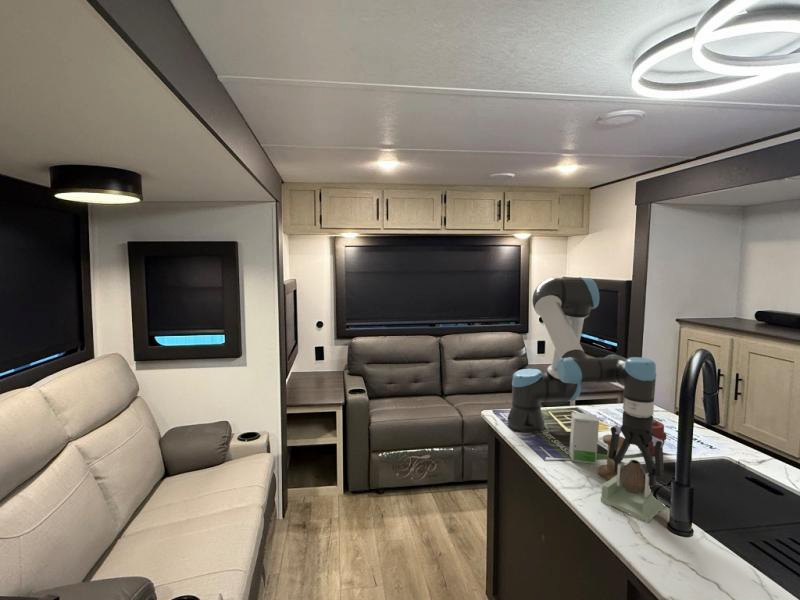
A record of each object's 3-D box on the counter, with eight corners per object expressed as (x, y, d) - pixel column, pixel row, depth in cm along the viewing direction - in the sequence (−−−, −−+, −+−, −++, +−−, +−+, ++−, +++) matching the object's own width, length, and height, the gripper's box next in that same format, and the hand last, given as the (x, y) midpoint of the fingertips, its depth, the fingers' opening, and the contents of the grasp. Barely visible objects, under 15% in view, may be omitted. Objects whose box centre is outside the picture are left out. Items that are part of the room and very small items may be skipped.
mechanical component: (652, 462, 147) (626, 450, 156) (671, 456, 152) (645, 445, 161) (655, 428, 146) (628, 418, 155) (673, 423, 150) (646, 413, 159)
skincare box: (571, 461, 148) (573, 418, 147) (568, 453, 155) (570, 411, 153) (597, 464, 146) (599, 420, 145) (593, 455, 153) (595, 413, 151)
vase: (643, 485, 125) (645, 457, 125) (650, 498, 119) (652, 468, 118) (617, 482, 127) (619, 454, 126) (623, 495, 121) (624, 465, 120)
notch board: (600, 500, 125) (601, 485, 124) (620, 485, 133) (621, 470, 132) (648, 522, 115) (649, 505, 114) (667, 504, 123) (668, 488, 122)
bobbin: (592, 474, 140) (594, 438, 139) (606, 465, 146) (607, 431, 144) (620, 485, 133) (622, 448, 132) (633, 476, 139) (635, 440, 137)
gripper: (596, 406, 126) (593, 480, 128) (671, 427, 111) (666, 510, 113) (609, 400, 131) (605, 472, 133) (682, 420, 115) (677, 500, 118)
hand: (633, 489), depth 123 cm, fingers closed on vase, 7 cm apart
